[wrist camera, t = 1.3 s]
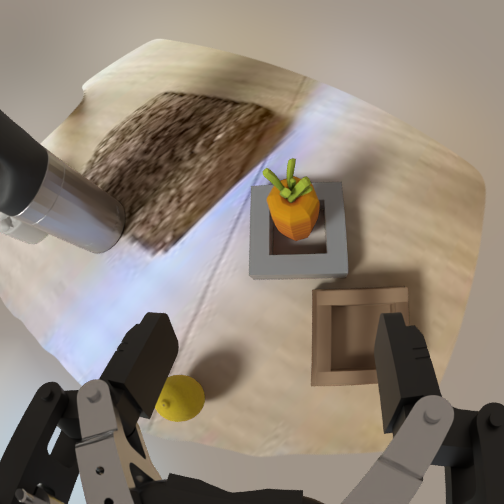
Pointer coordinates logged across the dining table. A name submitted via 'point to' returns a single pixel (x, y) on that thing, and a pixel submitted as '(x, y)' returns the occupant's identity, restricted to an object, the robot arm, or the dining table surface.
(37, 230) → the lumpy-topped squat cylinder
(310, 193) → the carrot
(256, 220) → the socket block
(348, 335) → the square wooden tray
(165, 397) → the lemon
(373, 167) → the dining table surface
